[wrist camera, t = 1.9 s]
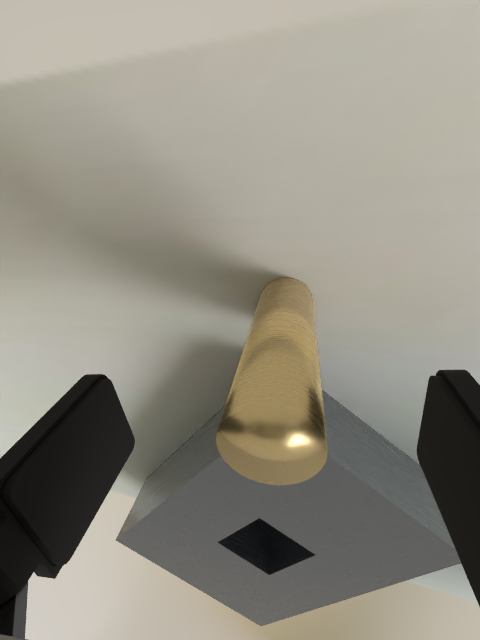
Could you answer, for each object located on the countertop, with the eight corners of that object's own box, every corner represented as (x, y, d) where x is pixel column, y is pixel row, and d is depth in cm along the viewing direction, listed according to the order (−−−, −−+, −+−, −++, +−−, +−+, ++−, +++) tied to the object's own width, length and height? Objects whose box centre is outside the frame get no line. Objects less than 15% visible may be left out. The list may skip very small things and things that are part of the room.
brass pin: (324, 301, 16) (353, 452, 8) (288, 336, 18) (276, 498, 9) (283, 266, 16) (262, 384, 7) (248, 305, 17) (196, 444, 9)
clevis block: (434, 476, 21) (470, 560, 16) (267, 556, 29) (260, 626, 24) (278, 356, 19) (271, 414, 14) (146, 479, 27) (115, 540, 22)
